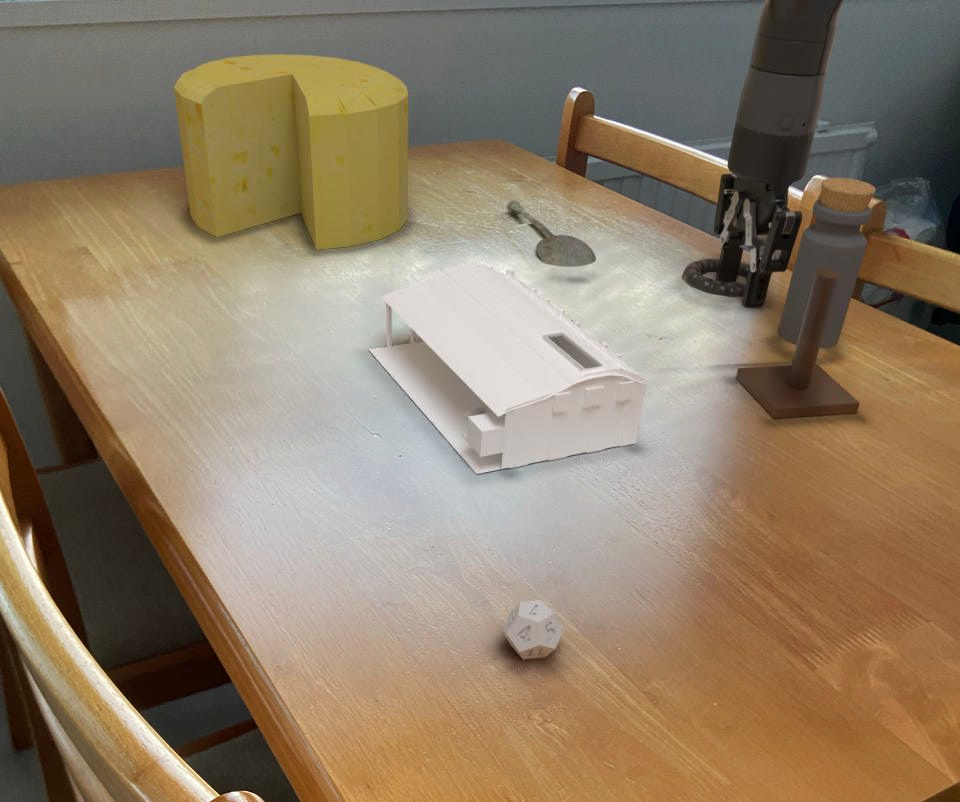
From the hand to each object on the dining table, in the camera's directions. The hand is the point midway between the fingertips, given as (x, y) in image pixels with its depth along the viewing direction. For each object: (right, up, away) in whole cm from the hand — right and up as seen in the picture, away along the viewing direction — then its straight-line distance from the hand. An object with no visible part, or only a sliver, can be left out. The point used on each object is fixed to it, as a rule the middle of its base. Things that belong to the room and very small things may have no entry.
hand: (738, 293), depth 107 cm
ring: (-1, +2, +3) cm, 4 cm away
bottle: (+5, -8, -7) cm, 12 cm away
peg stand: (+1, -15, -16) cm, 22 cm away
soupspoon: (-20, +10, +12) cm, 25 cm away
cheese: (-49, +15, +16) cm, 54 cm away
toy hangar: (-26, -15, -19) cm, 36 cm away
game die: (-24, -37, -45) cm, 63 cm away
